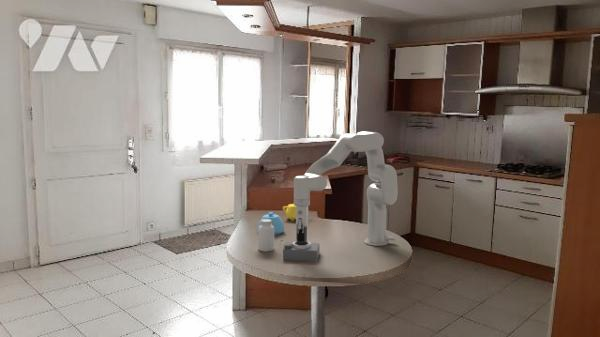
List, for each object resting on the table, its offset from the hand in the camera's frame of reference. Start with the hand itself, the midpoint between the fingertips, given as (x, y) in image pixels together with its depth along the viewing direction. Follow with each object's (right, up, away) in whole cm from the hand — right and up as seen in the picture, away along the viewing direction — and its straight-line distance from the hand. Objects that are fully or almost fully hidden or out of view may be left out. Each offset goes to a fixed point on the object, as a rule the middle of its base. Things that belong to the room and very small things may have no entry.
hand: (301, 238), depth 222 cm
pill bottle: (-18, -7, +12) cm, 22 cm away
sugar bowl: (-17, -3, +43) cm, 46 cm away
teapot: (-3, +1, +73) cm, 73 cm away
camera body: (0, -9, +1) cm, 9 cm away
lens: (0, -2, 0) cm, 2 cm away
